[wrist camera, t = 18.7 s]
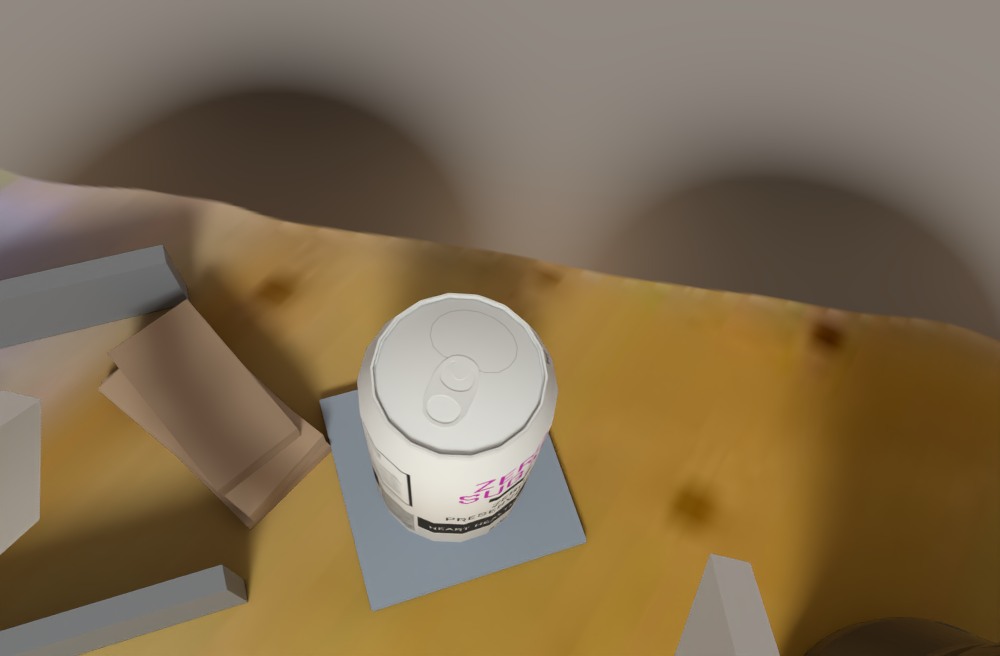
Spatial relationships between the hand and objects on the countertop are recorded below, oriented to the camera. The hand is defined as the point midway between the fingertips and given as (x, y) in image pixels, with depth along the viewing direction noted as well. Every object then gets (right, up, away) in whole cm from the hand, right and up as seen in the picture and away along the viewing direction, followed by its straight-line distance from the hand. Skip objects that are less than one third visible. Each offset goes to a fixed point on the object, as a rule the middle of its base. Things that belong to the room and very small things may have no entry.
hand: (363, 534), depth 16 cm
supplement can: (0, -4, +30) cm, 31 cm away
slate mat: (0, -4, +31) cm, 31 cm away
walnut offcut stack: (-13, -1, +31) cm, 34 cm away
